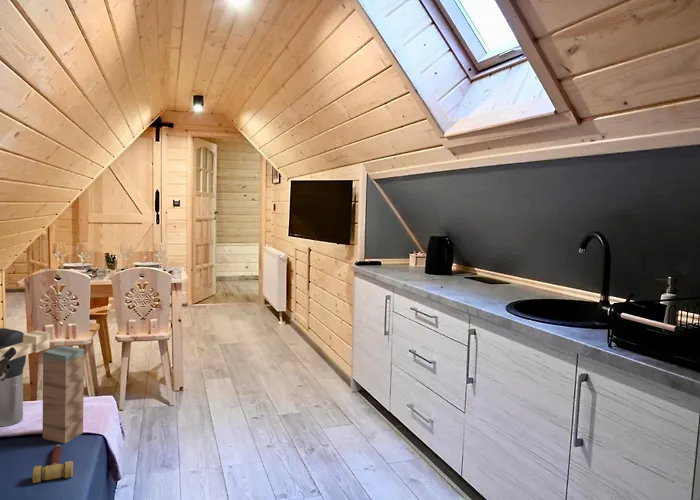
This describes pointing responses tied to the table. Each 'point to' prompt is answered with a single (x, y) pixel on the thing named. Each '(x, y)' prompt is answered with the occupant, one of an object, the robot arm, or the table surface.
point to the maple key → (30, 344)
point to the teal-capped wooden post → (63, 393)
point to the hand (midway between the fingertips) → (9, 348)
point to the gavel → (53, 468)
